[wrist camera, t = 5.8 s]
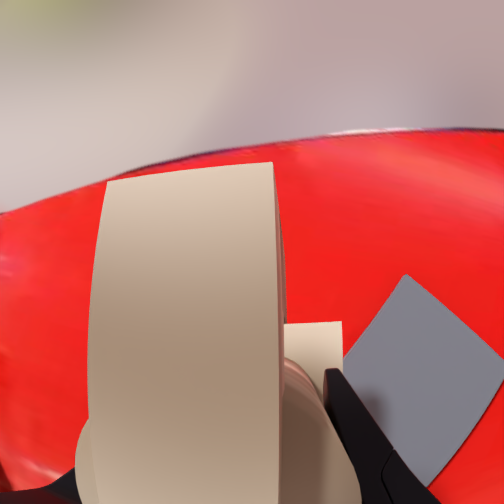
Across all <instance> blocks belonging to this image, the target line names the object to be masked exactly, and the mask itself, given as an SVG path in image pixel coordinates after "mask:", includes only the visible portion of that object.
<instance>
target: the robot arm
mask: <svg viewBox="0 0 504 504" xmlns="http://www.w3.org/2000/svg"><path fill="white" fill-rule="evenodd" d="M323 407H324V409H325V411H326V413H327V415H328V417H329V419H330V421H331V423H332V425H333V427H334V429H335V431H336V433H337V435H338V437H339V439H340V441H341V443H342V445H343V447H344V449H345V451H346V453H347V455H348V457H349V459H350V461H351V463H352V465H353V467H354V470H355V473H356V476H357V479H358V482H359V485H360V492H361V499H362V504H441V503H440V502H439V501H438V499H437V498H436V497H435V496H434V495H433V494H432V493H431V492H430V491H429V490H428V489H427V488H426V487H425V486H424V485H423V484H422V483H421V482H420V480H419V479H418V478H417V477H416V476H415V475H414V474H413V472H412V471H411V470H410V469H409V467H408V466H407V465H406V463H405V462H404V461H403V459H402V458H401V457H400V455H399V454H398V452H397V451H396V450H395V449H394V447H393V445H392V444H391V442H390V441H389V440H388V438H387V437H386V435H385V434H384V432H383V431H382V429H381V428H380V427H379V425H378V424H377V422H376V421H375V419H374V418H373V417H372V415H371V414H370V412H369V411H368V409H367V408H366V407H365V405H364V404H363V402H362V401H361V399H360V398H359V396H358V395H357V394H356V392H355V391H354V389H353V388H352V386H351V385H350V384H349V382H348V381H347V379H346V378H345V376H344V375H343V374H342V372H341V371H340V369H338V368H327V369H325V371H324V381H323ZM0 504H82V501H81V499H80V496H79V492H78V488H77V483H76V475H75V467H74V468H72V469H71V470H70V471H68V472H67V473H66V474H64V475H63V476H62V477H60V478H59V479H57V480H56V481H54V482H53V483H51V484H49V485H47V486H44V487H41V488H36V489H29V490H20V491H10V492H0Z"/></svg>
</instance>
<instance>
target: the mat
mask: <svg viewBox="0 0 504 504" xmlns="http://www.w3.org/2000/svg"><path fill="white" fill-rule="evenodd" d="M343 375H344V376H345V378H346V379H347V381H348V382H349V384H350V385H351V386H352V388H353V389H354V391H355V392H356V394H357V395H358V396H359V398H360V399H361V401H362V402H363V404H364V405H365V407H366V408H367V409H368V411H369V412H370V414H371V415H372V417H373V418H374V419H375V421H376V422H377V424H378V425H379V427H380V428H381V429H382V431H383V432H384V434H385V435H386V437H387V438H388V440H389V441H390V442H391V444H392V445H393V447H394V449H395V450H396V451H397V452H398V454H399V455H400V457H401V458H402V459H403V461H404V462H405V463H406V465H407V466H408V467H409V469H410V470H411V471H412V472H413V474H414V475H415V476H416V477H417V478H418V479H419V480H420V482H421V483H422V484H423V485H424V486H425V487H427V486H428V485H429V484H430V483H431V481H432V480H433V479H434V478H435V477H436V476H437V475H438V473H439V472H440V471H441V470H442V469H443V467H444V466H445V465H446V464H447V463H448V461H449V460H450V459H451V458H452V456H453V455H454V454H455V453H456V451H457V450H458V449H459V447H460V446H461V445H462V443H463V442H464V441H465V439H466V438H467V436H468V435H469V434H470V432H471V431H472V429H473V428H474V426H475V425H476V423H477V422H478V421H479V419H480V417H481V416H482V414H483V413H484V411H485V410H486V408H487V407H488V405H489V403H490V402H491V400H492V398H493V397H494V395H495V393H496V392H497V390H498V388H499V386H500V385H501V383H502V381H503V379H504V360H503V359H502V358H501V357H500V356H499V355H498V354H497V353H496V352H495V351H494V350H493V349H492V348H491V347H489V346H488V345H487V344H486V343H485V342H484V341H483V340H482V339H481V338H480V337H479V336H478V335H477V334H476V333H474V332H473V331H472V330H471V329H470V328H469V327H468V326H467V325H466V324H465V323H463V322H462V321H461V320H460V319H459V318H458V317H457V316H456V315H454V314H453V313H452V312H451V311H450V310H449V309H448V308H446V307H445V306H444V305H443V304H442V303H441V302H439V301H438V300H437V299H436V298H435V297H434V296H432V295H431V294H430V293H429V292H428V291H426V290H425V289H424V288H423V287H422V286H420V285H419V284H418V283H417V282H416V281H414V280H413V279H412V278H411V277H410V276H408V275H407V274H405V275H404V276H403V277H402V279H401V280H400V282H399V283H398V285H397V286H396V288H395V289H394V290H393V292H392V293H391V295H390V296H389V298H388V299H387V301H386V302H385V303H384V305H383V306H382V308H381V309H380V311H379V312H378V313H377V315H376V316H375V317H374V319H373V320H372V322H371V323H370V324H369V326H368V327H367V328H366V330H365V331H364V332H363V334H362V335H361V336H360V338H359V339H358V340H357V341H356V343H355V344H354V345H353V347H352V348H351V349H350V350H349V352H348V353H347V354H346V355H345V357H344V358H343Z"/></svg>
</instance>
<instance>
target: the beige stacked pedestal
mask: <svg viewBox="0 0 504 504" xmlns="http://www.w3.org/2000/svg"><path fill="white" fill-rule="evenodd" d="M327 368H338V369H340V371H341V372H342V374H343V349H342V321H339V322H322V323H301V324H287V309H286V275H285V254H284V246H283V238H282V229H281V221H280V213H279V205H278V198H277V190H276V182H275V175H274V168H273V162H268V163H254V164H241V165H230V166H219V167H209V168H200V169H191V170H183V171H175V172H167V173H160V174H153V175H146V176H139V177H133V178H126V179H120V180H114V181H108V183H107V188H106V193H105V198H104V203H103V208H102V214H101V219H100V225H99V232H98V238H97V245H96V252H95V260H94V268H93V277H92V287H91V299H90V312H89V330H88V407H89V419H88V420H87V422H86V424H85V426H84V427H83V429H82V432H81V435H80V437H79V440H78V444H77V449H76V454H75V475H76V483H77V488H78V492H79V496H80V499H81V501H82V504H362V499H361V492H360V485H359V482H358V479H357V476H356V473H355V470H354V467H353V465H352V463H351V461H350V459H349V457H348V455H347V453H346V451H345V449H344V447H343V445H342V443H341V441H340V439H339V437H338V435H337V433H336V431H335V429H334V427H333V425H332V423H331V421H330V419H329V417H328V415H327V413H326V411H325V409H324V407H323V381H324V371H325V369H327Z"/></svg>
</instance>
